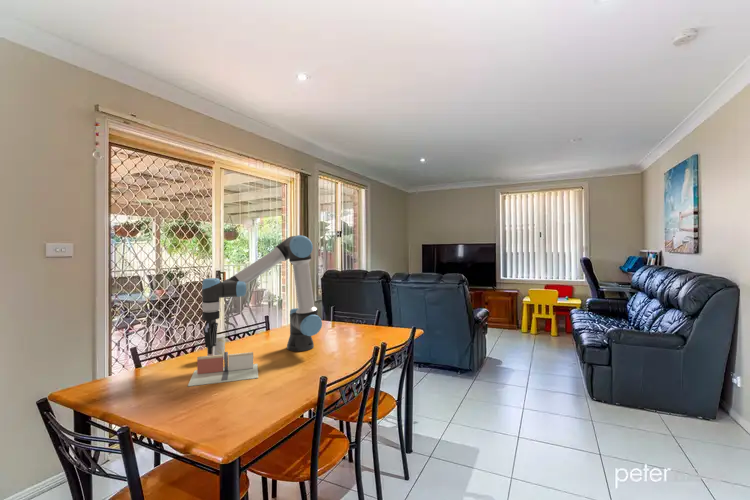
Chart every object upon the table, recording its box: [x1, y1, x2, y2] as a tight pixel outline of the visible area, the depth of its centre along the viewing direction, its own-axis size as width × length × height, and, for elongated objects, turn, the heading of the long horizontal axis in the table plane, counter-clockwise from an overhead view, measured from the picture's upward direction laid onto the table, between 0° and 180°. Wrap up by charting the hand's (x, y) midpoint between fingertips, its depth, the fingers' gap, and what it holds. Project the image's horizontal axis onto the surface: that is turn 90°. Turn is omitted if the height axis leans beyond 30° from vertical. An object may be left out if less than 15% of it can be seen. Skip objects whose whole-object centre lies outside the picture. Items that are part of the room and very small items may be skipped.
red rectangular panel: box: [196, 355, 224, 374], centre depth 162 cm, size 11×2×7 cm, turn 110°
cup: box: [214, 333, 226, 361], centre depth 183 cm, size 8×8×12 cm
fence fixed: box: [223, 351, 254, 371], centre depth 166 cm, size 13×2×9 cm, turn 110°
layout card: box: [187, 363, 259, 388], centre depth 160 cm, size 28×20×1 cm
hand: (210, 360), depth 167 cm, fingers closed
